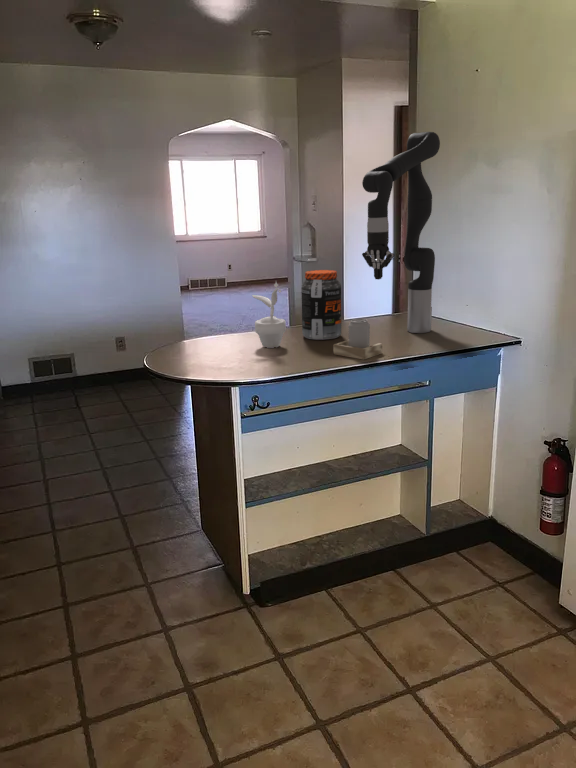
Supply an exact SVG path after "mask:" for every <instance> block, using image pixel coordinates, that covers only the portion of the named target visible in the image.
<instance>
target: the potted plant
mask: <svg viewBox="0 0 576 768" xmlns="http://www.w3.org/2000/svg"><path fill="white" fill-rule="evenodd" d="M273 286H274V288H275V289H274V290H273V292H272V293H271V297H270V298H269V297H267V296H263V295H257V294H256V295H255V294H252V295H251V296H252V298H254V299H256V300H259V301H260V302H262V303H263V304H264V305H265V306H267V307H268V308H270V313H269V316H266V317H262V318H260V319H258V320H255V321H254V331H255V333H256V334H257V336H258V337H259V340H260V342H261V345H262V347H264V348H265V347H267V348H266V349H275V348H274V347H276V348H278V347H279V346H280V345H281V342H282V339H283V336H284V333H285V332H287V329H286V328H287V324H286V322H287V321H286V320H285V319H284V318H277V317H276V315H275V314H274V313H275V305H276V304H277V303H278V292H279V293H281V292H282V290H281V287H278V286H279V284H278V283H277V281H275V283H274V284H273ZM274 315H275V316H274Z"/></svg>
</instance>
